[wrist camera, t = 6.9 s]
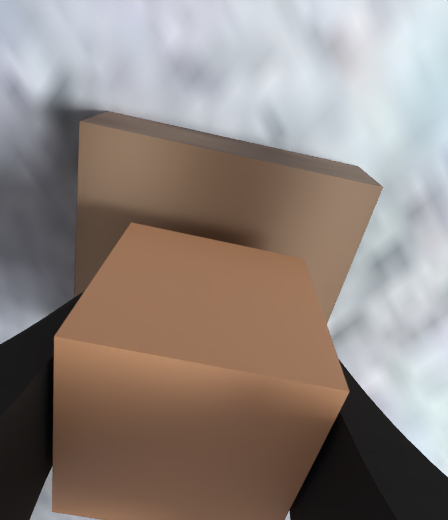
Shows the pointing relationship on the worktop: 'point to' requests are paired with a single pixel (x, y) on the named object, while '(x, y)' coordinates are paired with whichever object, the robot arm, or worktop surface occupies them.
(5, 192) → the worktop surface
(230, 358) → the orange cube
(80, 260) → the walnut block
